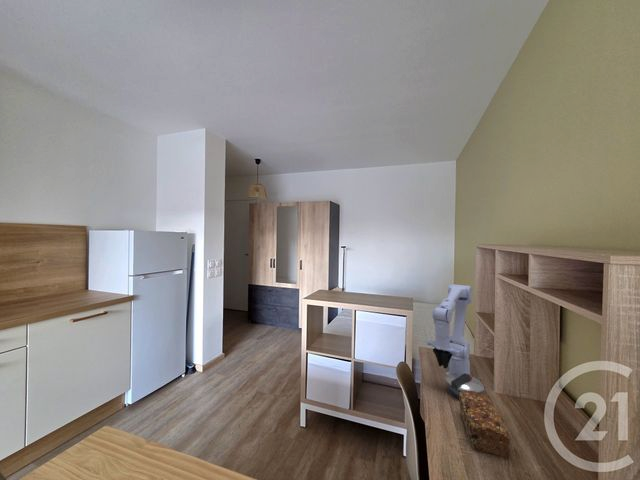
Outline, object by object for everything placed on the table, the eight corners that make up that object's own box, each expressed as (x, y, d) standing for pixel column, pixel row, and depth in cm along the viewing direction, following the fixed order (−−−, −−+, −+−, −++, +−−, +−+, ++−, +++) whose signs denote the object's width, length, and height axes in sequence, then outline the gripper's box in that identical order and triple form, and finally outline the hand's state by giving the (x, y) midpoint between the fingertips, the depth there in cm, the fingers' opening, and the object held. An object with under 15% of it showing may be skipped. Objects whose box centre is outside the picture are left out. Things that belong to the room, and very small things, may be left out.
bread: (458, 412, 93) (458, 386, 94) (491, 418, 90) (490, 391, 90) (470, 451, 76) (469, 418, 76) (512, 461, 72) (511, 426, 72)
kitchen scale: (443, 382, 114) (443, 373, 114) (477, 386, 110) (477, 377, 110) (453, 407, 96) (452, 396, 96) (493, 413, 92) (492, 402, 92)
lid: (456, 371, 115) (456, 365, 115) (489, 385, 103) (489, 378, 103) (437, 382, 106) (437, 375, 106) (472, 398, 95) (471, 390, 95)
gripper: (422, 332, 112) (423, 362, 112) (453, 342, 99) (453, 376, 99) (432, 329, 115) (432, 358, 115) (463, 339, 103) (463, 372, 102)
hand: (443, 366), depth 107 cm, fingers closed
